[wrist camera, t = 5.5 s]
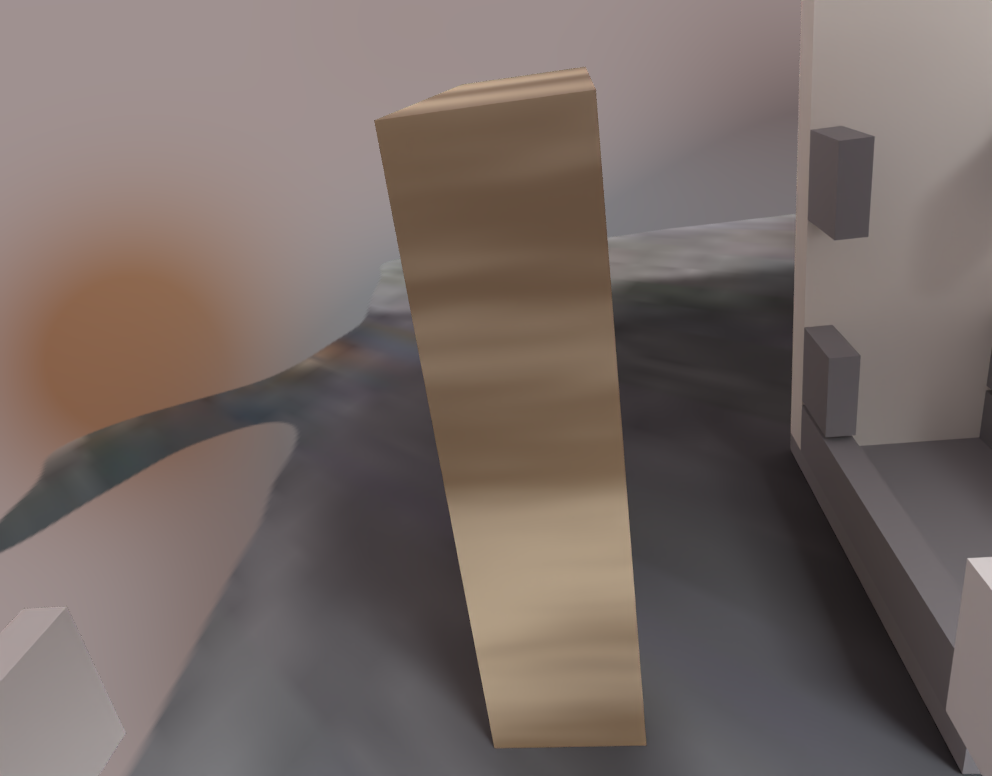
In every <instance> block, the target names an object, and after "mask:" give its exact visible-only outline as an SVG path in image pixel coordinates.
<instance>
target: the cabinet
mask: <svg viewBox="0 0 992 776" xmlns="http://www.w3.org/2000/svg"><path fill="white" fill-rule="evenodd" d="M800 34H801V35H800V71H799V72H800V73H799V74H800V75H799V114H798V116H799V117H798V154H797V194H796V235H795V275H794V316H793V357H792V398H791V439H790V450H791V452H792V453H793V455H794V457H795V459H796V461H797V463H798V465H799V467H800V469H801V470H802V472H803V474H804V476H805V478H806V480H807V482H808V484H809V486H810V487H811V489H812V491H813V493H814V495H815V497H816V499H817V501H818V502H819V504H820V506H821V508H822V510H823V512H824V514H825V516H826V518H827V519H828V521H829V523H830V525H831V527H832V529H833V531H834V533H835V535H836V536H837V538H838V540H839V542H840V544H841V546H842V548H843V550H844V552H845V553H846V555H847V557H848V559H849V561H850V563H851V565H852V567H853V569H854V570H855V572H856V574H857V576H858V578H859V580H860V582H861V584H862V586H863V587H864V589H865V591H866V593H867V595H868V597H869V599H870V601H871V603H872V604H873V606H874V608H875V610H876V612H877V614H878V616H879V618H880V620H881V621H882V623H883V625H884V627H885V629H886V631H887V633H888V635H889V636H890V638H891V640H892V642H893V644H894V646H895V648H896V650H897V652H898V653H899V655H900V657H901V659H902V661H903V663H904V665H905V667H906V669H907V670H908V672H909V674H910V676H911V678H912V680H913V682H914V684H915V686H916V687H917V689H918V691H919V693H920V695H921V697H922V699H923V701H924V703H925V704H926V706H927V708H928V710H929V712H930V714H931V716H932V718H933V720H934V721H935V723H936V725H937V727H938V729H939V731H940V733H941V735H942V737H943V738H944V740H945V742H946V744H947V746H948V748H949V750H950V752H951V754H952V755H953V757H954V759H955V761H956V763H957V765H958V767H959V769H960V771H961V772H962V774H981V773H980V771H979V769H978V767H977V766H976V764H975V762H974V760H973V758H972V757H971V755H970V753H969V751H968V749H967V748H966V746H965V744H964V742H963V741H962V739H961V737H960V735H959V733H958V732H957V730H956V728H955V726H954V725H953V723H952V721H951V719H950V717H949V716H948V714H947V712H946V704H947V697H948V690H949V683H950V676H951V669H952V662H953V655H954V648H955V641H956V634H957V627H958V620H959V613H960V606H961V599H962V591H963V584H964V577H965V570H966V563H967V558H980V557H992V0H801V31H800Z"/></svg>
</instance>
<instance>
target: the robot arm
mask: <svg viewBox="0 0 992 776" xmlns="http://www.w3.org/2000/svg"><path fill="white" fill-rule="evenodd" d="M946 712H947V714H948V716H949V717H950V719H951V721H952V723H953V725H954V726H955V728H956V730H957V732H958V733H959V735H960V737H961V739H962V741H963V742H964V744H965V746H966V748H967V749H968V751H969V753H970V755H971V757H972V758H973V760H974V762H975V764H976V766H977V767H978V769H979V771H980V773H981V774H982V776H992V557H980V558H967V563H966V570H965V577H964V584H963V591H962V599H961V606H960V613H959V620H958V627H957V634H956V641H955V648H954V655H953V662H952V669H951V676H950V683H949V690H948V697H947V704H946ZM125 734H126V732H125V730H124V728H123V726H122V724H121V721H120V719H119V717H118V715H117V713H116V710H115V708H114V707H113V704H112V702H111V700H110V698H109V695H108V693H107V691H106V689H105V687H104V685H103V682H102V680H101V678H100V676H99V674H98V672H97V669H96V667H95V665H94V663H93V661H92V659H91V657H90V654H89V652H88V650H87V648H86V646H85V644H84V642H83V639H82V637H81V635H80V633H79V631H78V628H77V626H76V624H75V622H74V620H73V618H72V616H71V614H70V611H69V609H68V607H67V606H63V607H44V608H24V609H22V610H21V611H20V612H19V613H18V614H17V615H16V616H15V617H14V619H12V621H11V622H10V623H9V624H8V625H7V626H6V627H5V628H4V629H3V630H2V631H1V632H0V776H99V775H100V773H101V772H102V770H103V769H104V767H105V765H106V764H107V762H108V761H109V759H110V758H111V756H112V754H113V753H114V751H115V750H116V748H117V747H118V745H119V743H120V742H121V740H122V739H123V737H124V736H125Z"/></svg>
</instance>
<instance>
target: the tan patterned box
mask: <svg viewBox="0 0 992 776" xmlns="http://www.w3.org/2000/svg"><path fill="white" fill-rule="evenodd" d="M374 121H375V126H376V132H377V137H378V142H379V148H380V153H381V158H382V163H383V168H384V173H385V179H386V184H387V189H388V195H389V200H390V205H391V210H392V215H393V221H394V226H395V231H396V236H397V242H398V246H399V252H400V257H401V263H402V268H403V273H404V278H405V283H406V289H407V294H408V299H409V304H410V310H411V315H412V320H413V325H414V330H415V336H416V341H417V346H418V351H419V357H420V362H421V367H422V372H423V377H424V383H425V388H426V393H427V398H428V404H429V409H430V414H431V419H432V424H433V430H434V435H435V440H436V445H437V451H438V456H439V461H440V466H441V472H442V477H443V482H444V487H445V492H446V498H447V503H448V508H449V513H450V519H451V524H452V529H453V534H454V539H455V545H456V550H457V555H458V560H459V566H460V571H461V576H462V581H463V586H464V592H465V597H466V602H467V607H468V613H469V618H470V623H471V628H472V633H473V639H474V644H475V649H476V654H477V660H478V665H479V670H480V675H481V681H482V686H483V691H484V696H485V701H486V707H487V712H488V717H489V722H490V728H491V733H492V738H493V743H494V748H538V747H590V746H642V745H646V733H645V720H644V707H643V694H642V682H641V669H640V656H639V643H638V630H637V617H636V604H635V591H634V578H633V565H632V552H631V539H630V526H629V513H628V500H627V487H626V474H625V461H624V449H623V436H622V423H621V410H620V397H619V384H618V371H617V358H616V345H615V332H614V319H613V306H612V293H611V280H610V267H609V254H608V241H607V229H606V216H605V203H604V190H603V177H602V166H601V165H602V164H601V151H600V138H599V125H598V113H597V99H596V89H595V87H594V85H593V82H592V80H591V78H590V76H589V73H588V71H587V69H586V67H580V68H573V69H566V70H559V71H553V72H546V73H539V74H532V75H525V76H518V77H511V78H504V79H498V80H490V81H483V82H476V83H469V84H463V85H460V86H457V87H455V88H452V89H450V90H448V91H445V92H443V93H440V94H438V95H435V96H433V97H431V98H428V99H426V100H423V101H421V102H418V103H416V104H413V105H411V106H409V107H406V108H404V109H401V110H399V111H397V112H394V113H391V114H389V115H387V116H384V117H382V118H379V119H377V120H374Z"/></svg>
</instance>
